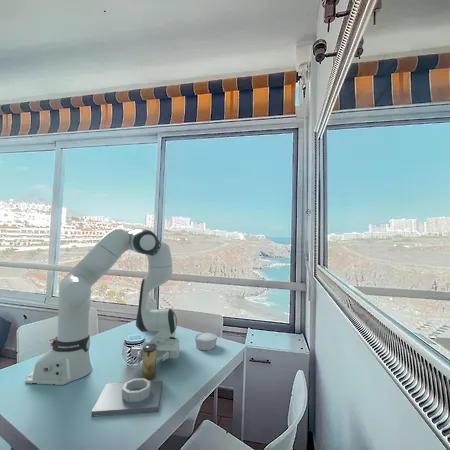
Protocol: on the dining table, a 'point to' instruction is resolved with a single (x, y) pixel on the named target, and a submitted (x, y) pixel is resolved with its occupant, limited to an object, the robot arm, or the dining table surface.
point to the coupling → (149, 361)
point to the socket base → (129, 397)
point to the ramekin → (205, 341)
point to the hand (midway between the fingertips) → (150, 358)
